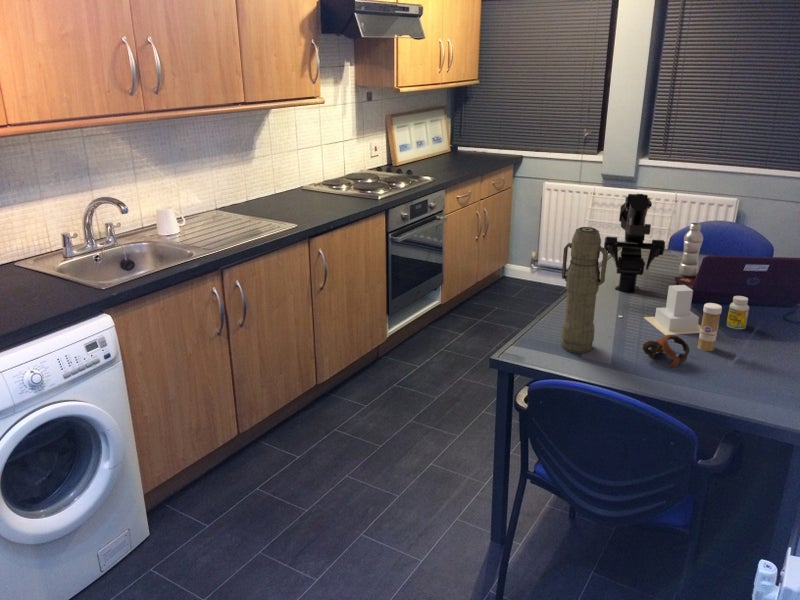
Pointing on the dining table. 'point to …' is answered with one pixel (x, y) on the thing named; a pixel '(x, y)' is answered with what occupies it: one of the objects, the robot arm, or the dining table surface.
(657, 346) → the pottery mug
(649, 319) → the mat
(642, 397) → the dining table surface
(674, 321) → the cover
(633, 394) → the dining table surface
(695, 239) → the plastic bottle
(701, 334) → the sprinkles bottle
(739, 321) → the supplement bottle
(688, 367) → the dining table surface
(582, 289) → the thermos
